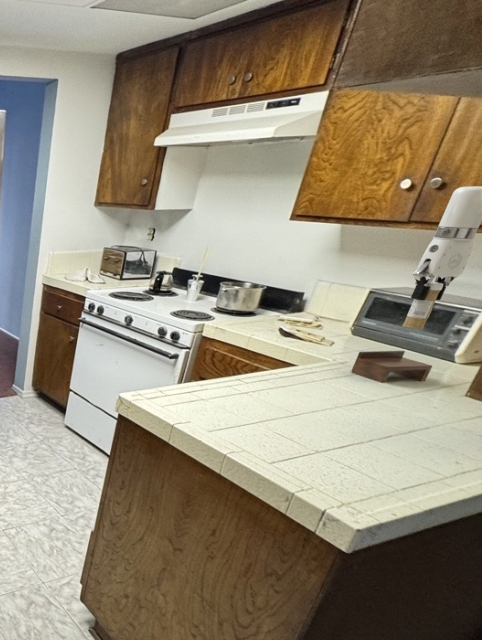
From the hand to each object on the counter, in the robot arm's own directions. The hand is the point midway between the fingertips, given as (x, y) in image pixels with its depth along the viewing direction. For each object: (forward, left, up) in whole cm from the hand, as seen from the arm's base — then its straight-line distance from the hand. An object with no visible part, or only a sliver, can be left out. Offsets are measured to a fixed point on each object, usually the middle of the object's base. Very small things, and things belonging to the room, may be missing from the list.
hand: (425, 298), depth 138 cm
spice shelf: (0, +1, -25) cm, 25 cm away
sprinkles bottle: (0, 0, -9) cm, 9 cm away
